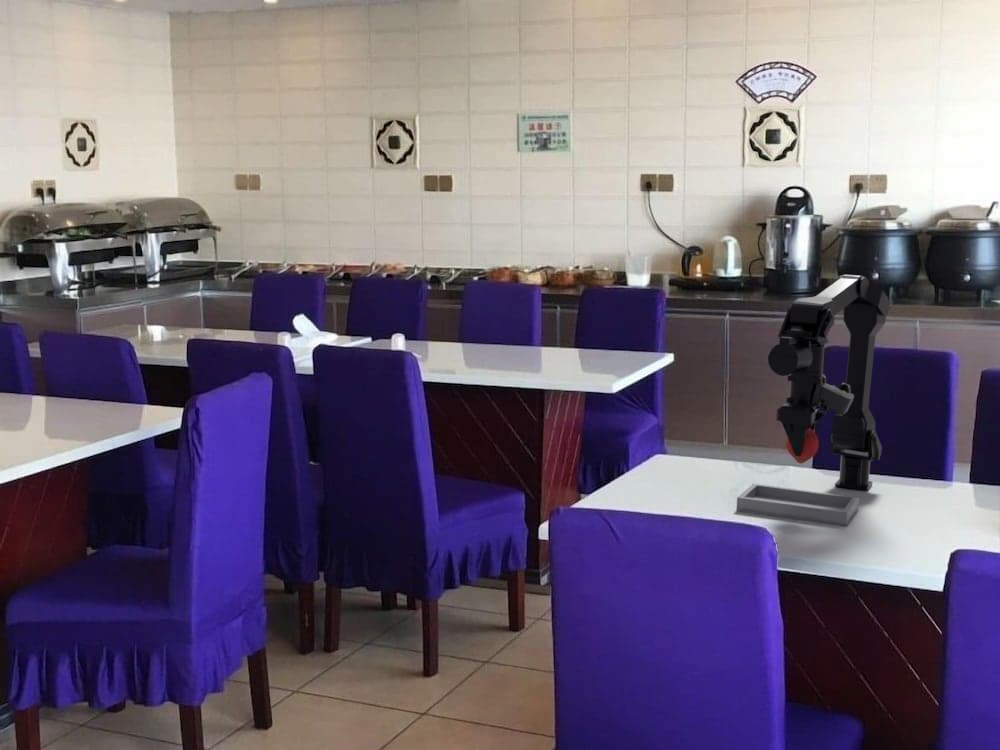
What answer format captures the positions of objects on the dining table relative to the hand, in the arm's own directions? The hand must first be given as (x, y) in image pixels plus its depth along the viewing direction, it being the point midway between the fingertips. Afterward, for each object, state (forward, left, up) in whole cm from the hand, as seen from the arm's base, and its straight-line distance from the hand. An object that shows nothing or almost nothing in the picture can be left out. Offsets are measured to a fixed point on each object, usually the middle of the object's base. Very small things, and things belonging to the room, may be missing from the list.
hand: (801, 452), depth 224 cm
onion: (0, 0, -2) cm, 2 cm away
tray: (0, 0, -11) cm, 11 cm away
